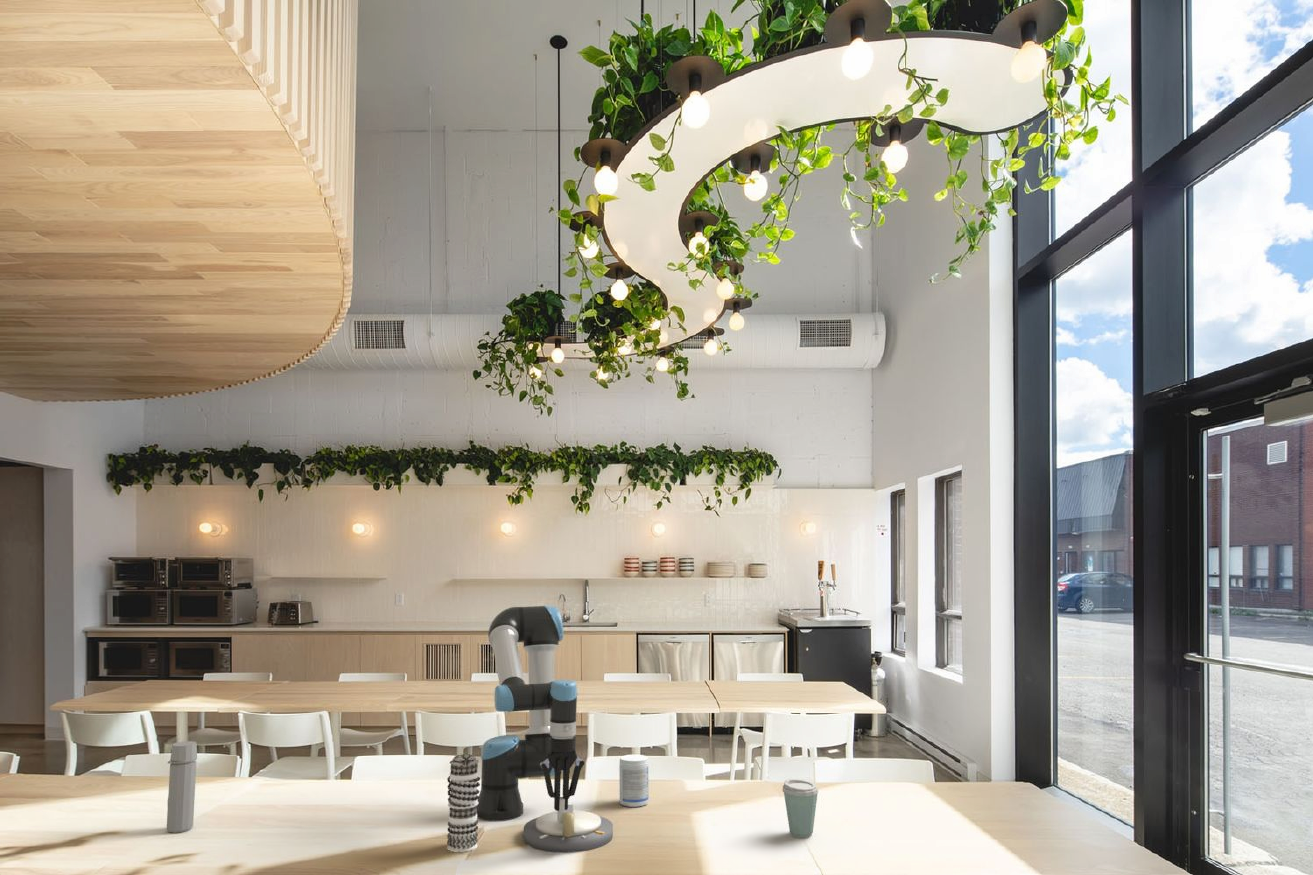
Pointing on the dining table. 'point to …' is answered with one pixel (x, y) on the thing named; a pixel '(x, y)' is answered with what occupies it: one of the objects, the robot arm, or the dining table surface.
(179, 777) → the water bottle
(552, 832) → the dial
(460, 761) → the decorative candle
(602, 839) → the dial base
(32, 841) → the dining table surface
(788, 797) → the disposable coffee cup
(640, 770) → the supplement tub
